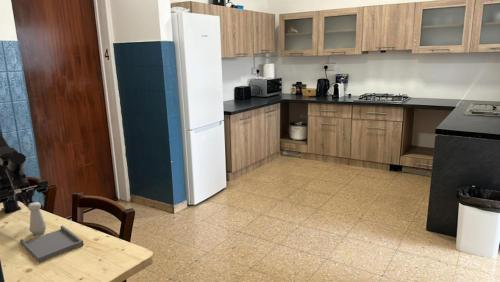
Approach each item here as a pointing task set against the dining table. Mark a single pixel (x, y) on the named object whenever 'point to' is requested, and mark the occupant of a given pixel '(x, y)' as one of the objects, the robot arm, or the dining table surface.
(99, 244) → the dining table surface
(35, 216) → the salt shaker
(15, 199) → the robot arm
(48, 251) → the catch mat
